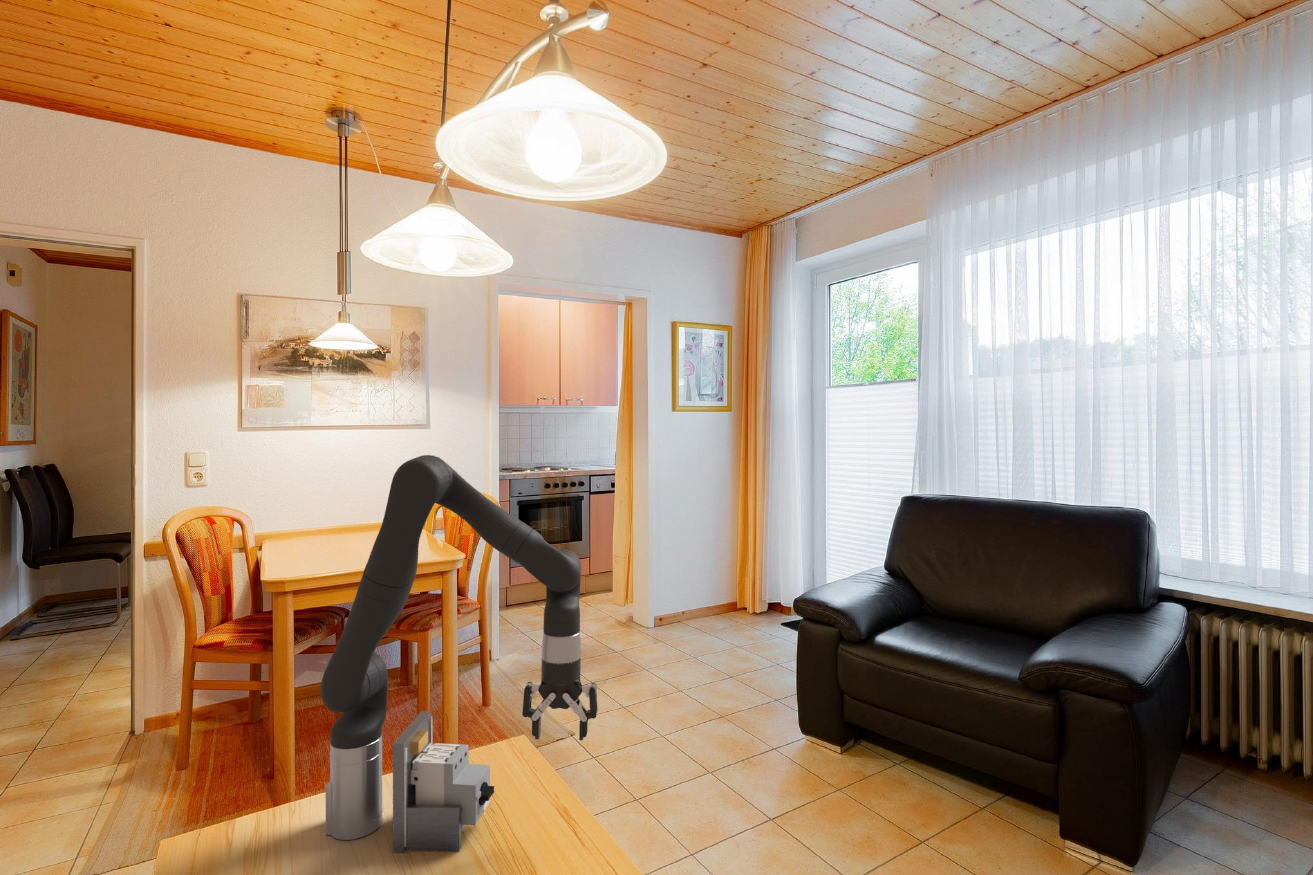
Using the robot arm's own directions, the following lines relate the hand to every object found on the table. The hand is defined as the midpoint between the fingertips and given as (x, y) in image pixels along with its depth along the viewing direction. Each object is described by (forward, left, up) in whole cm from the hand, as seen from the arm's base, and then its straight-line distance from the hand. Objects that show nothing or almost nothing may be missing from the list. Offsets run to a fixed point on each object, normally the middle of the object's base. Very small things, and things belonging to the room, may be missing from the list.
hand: (559, 737), depth 124 cm
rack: (-24, 0, -18) cm, 30 cm away
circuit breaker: (-20, -1, -18) cm, 27 cm away
